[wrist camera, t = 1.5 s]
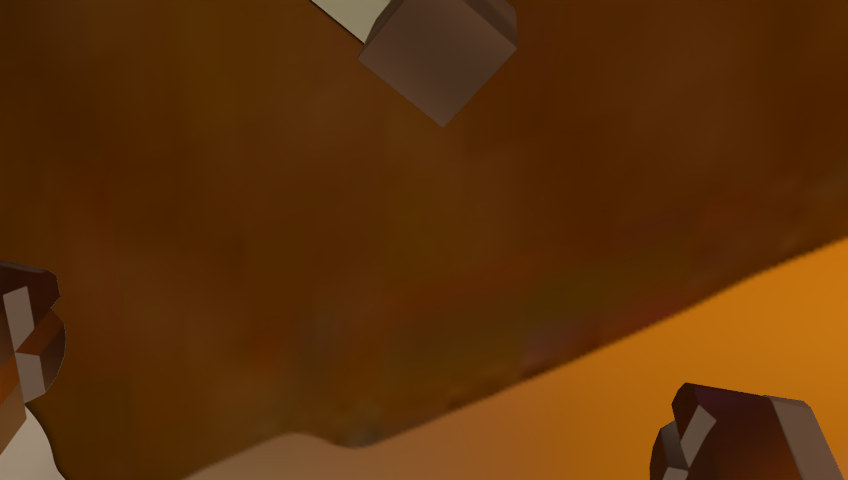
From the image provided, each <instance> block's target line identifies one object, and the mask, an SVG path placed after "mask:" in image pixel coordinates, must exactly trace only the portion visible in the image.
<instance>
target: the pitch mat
mask: <svg viewBox="0 0 848 480" xmlns="http://www.w3.org/2000/svg"><path fill="white" fill-rule="evenodd" d="M312 1H313V2H314V3H316V4H317V5H318V6H319V7H321V8H322V9H323V10H324V11H325V12H327V13H328V14H329V15H330V16H332V17H333V18H334V19H335V20H337V21H338V22H339V23H340V24H341V25H343V26H344V27H345V28H346V29H348V30H349V31H350V32H351V33H352V34H354V35H355V36H356V37H357V38H359V39H360V40H361V41H362V42H364V43H365V41H366V39H367V37H368V35H369V33H370V30H371V28H372V26H373V24H374V22H375V20H376V18H377V17H378V16H379V15H380V13H381V12H382V11H383V10H384V8H385V7H386V6H387V5H388V3H389V2H390V1H391V0H312Z"/></svg>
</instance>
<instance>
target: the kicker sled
mask: <svg viewBox="0 0 848 480" xmlns="http://www.w3.org/2000/svg"><path fill="white" fill-rule="evenodd" d="M516 49H517V25H516V9H515V8H514V7H512V6H511V5H510V4H509V3H508V2H507V1H506V0H391V1H390V2H389V3H388V5H387V6H386V7H385V8H384V10H383V11H382V12H381V13H380V15H379V16H378V17H377V18H376V20H375V22H374V24H373V26H372V28H371V30H370V33H369V35H368V37H367V39H366V41H365V43H364V45H363V48H362V50H361V52H360V54H359V56H358V58H357V59H358V60H359V61H360V62H362V63H363V64H364V65H365V66H367V67H368V68H369V69H370V70H372V71H373V72H374V73H375V74H377V75H378V76H379V77H380V78H382V79H383V80H384V81H385V82H387V83H388V84H389V85H390V86H391V87H393V88H394V89H395V90H396V91H398V92H399V93H400V94H401V95H403V96H404V97H405V98H406V99H408V100H409V101H410V102H411V103H413V104H414V105H415V106H416V107H418V108H419V109H420V110H421V111H423V112H424V113H425V114H426V115H428V116H429V117H430V118H431V119H433V120H434V121H435V122H436V123H438V124H439V125H440V126H441V127H444V126H445V125H446V124H447V123H448V122H449V121H450V120H451V119H452V118H453V117H454V116H455V115H456V113H457V112H458V111H459V110H460V109H461V108H462V107H463V106H464V105H465V104H466V103H467V102H468V101H469V100H470V99H471V97H472V96H473V95H474V94H475V93H476V92H477V91H478V90H479V89H480V88H481V87H482V86H483V85H484V84H485V83H486V81H487V80H488V79H489V78H490V77H491V76H492V75H493V74H494V73H495V72H496V71H497V70H498V69H499V68H500V67H501V65H502V64H503V63H504V62H505V61H506V60H507V59H508V58H509V57H510V56H511V55H512V54H513V53H514V52H515V51H516Z"/></svg>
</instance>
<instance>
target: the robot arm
mask: <svg viewBox="0 0 848 480" xmlns="http://www.w3.org/2000/svg"><path fill="white" fill-rule="evenodd" d="M59 297H60V292H59V287H58V282H57V277H56V275H55V274H53V273H52V272H50V271H49V270H46V269H41V268H36V267H31V266H26V265H21V264H16V263H11V262H6V261H1V260H0V480H65V479H64V478H63V476H62V475H61V474H60V473H59V472H58V470H57V468H56V466H55V463H54V460H53V455H52V451H51V447H50V444H49V441H48V439H47V437H46V435H45V433H44V431H43V429H42V427H41V426H40V424H39V423H38V421H37V420H36V419H35V417H34V416H33V415H32V413H31V412H30V411H29V410H28V409H27V408H26V407H25V405H24V403H26V402H28V401H30V400H32V399H34V398H36V397H38V396H40V395H42V394H44V393H46V391H47V390H48V388H49V387H50V386H51V384H52V383H53V381H54V380H55V378H56V377H57V374H58V372H59V369H60V366H61V363H62V361H63V358H64V355H65V344H66V334H65V326H64V322H63V321H62V320H61V319H60V318H59V317H58V316H57V314H56V313H55V312H54V311H53V310H52V309H51V307H52V306H53V305H54V304H55V302H56V301H57V300H58V299H59ZM672 409H673V413H674V417H675V420H674V421H672V422H671V423H669V424H667V425H665V426H664V427H662V428H661V429H660V431H659V433H658V436H657V438H656V441H655V444H654V446H653V451H652V456H651V462H650V480H844V478H843V476H842V474H841V472H840V470H839V468H838V465H837V463H836V461H835V459H834V457H833V455H832V452H831V450H830V448H829V446H828V444H827V442H826V439H825V437H824V435H823V433H822V431H821V429H820V426H819V424H818V422H817V420H816V417H815V415H814V413H813V411H812V409H811V407H810V406H808V405H807V404H806V403H805V402H804V401H799V400H793V399H787V398H780V397H774V396H767V395H763V396H760V395H756V394H750V393H744V392H738V391H732V390H727V389H721V388H715V387H709V386H703V385H697V384H691V383H684V384H683V385H682V386H681V388H680V389H679V390H678V391H677V394H676V396H675V398H674V400H673V402H672Z"/></svg>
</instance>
